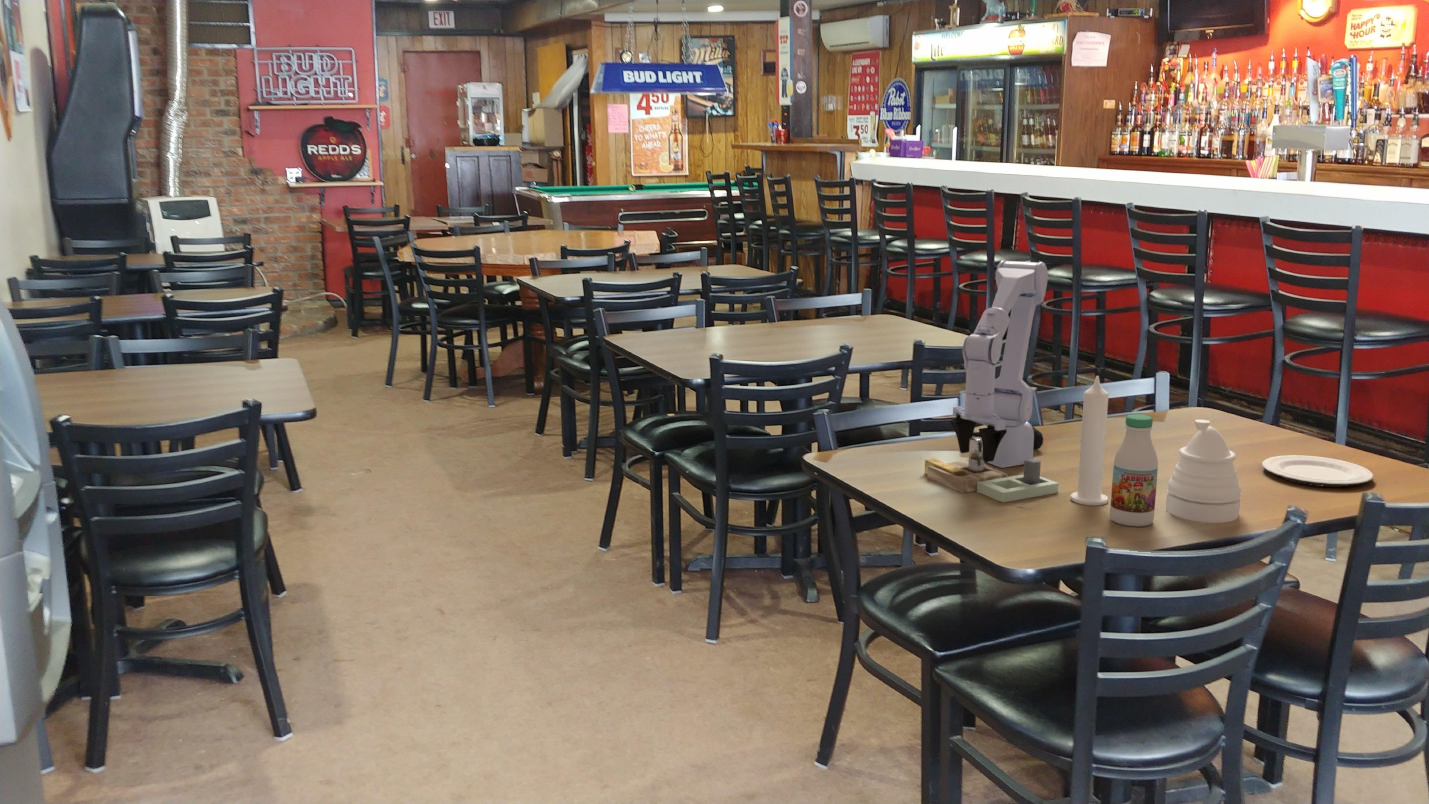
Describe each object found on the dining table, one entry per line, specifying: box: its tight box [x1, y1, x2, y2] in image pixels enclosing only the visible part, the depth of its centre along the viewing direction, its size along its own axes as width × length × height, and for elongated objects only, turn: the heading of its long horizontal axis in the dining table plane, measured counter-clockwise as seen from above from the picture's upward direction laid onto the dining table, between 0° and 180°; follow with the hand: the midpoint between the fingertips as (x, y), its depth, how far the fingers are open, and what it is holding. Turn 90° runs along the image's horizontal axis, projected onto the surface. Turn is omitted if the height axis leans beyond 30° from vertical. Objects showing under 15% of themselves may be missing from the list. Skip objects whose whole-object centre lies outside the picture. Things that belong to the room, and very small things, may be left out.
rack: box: [976, 458, 1060, 503], centre depth 230 cm, size 14×8×6 cm, turn 116°
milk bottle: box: [1109, 413, 1159, 528], centre depth 210 cm, size 8×8×20 cm
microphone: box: [973, 426, 1044, 451], centre depth 266 cm, size 6×6×20 cm
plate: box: [1261, 454, 1374, 487], centre depth 240 cm, size 21×21×2 cm
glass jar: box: [968, 436, 985, 474], centre depth 237 cm, size 3×3×9 cm
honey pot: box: [1165, 419, 1242, 524], centre depth 216 cm, size 13×13×18 cm
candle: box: [1069, 375, 1110, 506], centre depth 222 cm, size 7×7×25 cm
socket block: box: [927, 459, 1008, 494], centre depth 237 cm, size 11×12×2 cm
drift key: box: [924, 458, 964, 477], centre depth 239 cm, size 2×10×3 cm, turn 26°
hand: (976, 456), depth 237 cm, fingers open, 7 cm apart
